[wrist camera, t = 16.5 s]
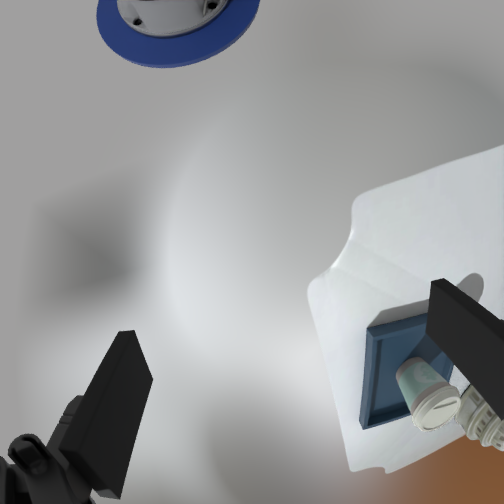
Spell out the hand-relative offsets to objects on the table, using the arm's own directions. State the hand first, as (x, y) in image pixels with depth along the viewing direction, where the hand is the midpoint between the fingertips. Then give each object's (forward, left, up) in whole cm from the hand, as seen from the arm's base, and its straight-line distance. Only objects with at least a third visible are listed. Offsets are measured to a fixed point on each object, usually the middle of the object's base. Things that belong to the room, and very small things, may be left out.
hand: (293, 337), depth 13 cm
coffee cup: (+30, +23, -26) cm, 46 cm away
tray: (+30, +23, -27) cm, 46 cm away
